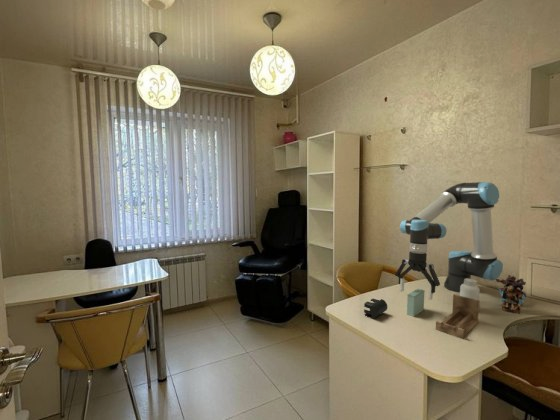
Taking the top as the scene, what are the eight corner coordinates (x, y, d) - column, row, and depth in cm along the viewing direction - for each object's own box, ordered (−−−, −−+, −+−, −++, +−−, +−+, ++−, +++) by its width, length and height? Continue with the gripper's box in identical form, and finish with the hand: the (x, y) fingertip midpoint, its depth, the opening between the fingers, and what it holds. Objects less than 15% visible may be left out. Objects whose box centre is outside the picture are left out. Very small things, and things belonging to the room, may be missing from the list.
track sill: (435, 329, 118) (436, 306, 118) (453, 314, 133) (454, 294, 132) (462, 338, 111) (463, 314, 110) (477, 322, 125) (479, 300, 125)
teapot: (493, 300, 150) (494, 287, 150) (498, 298, 154) (498, 285, 153) (522, 308, 141) (523, 294, 140) (526, 305, 144) (527, 291, 144)
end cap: (377, 321, 126) (378, 306, 125) (363, 316, 131) (363, 302, 130) (387, 314, 133) (387, 300, 132) (373, 309, 138) (374, 296, 137)
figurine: (499, 312, 135) (504, 276, 134) (492, 305, 144) (496, 271, 143) (526, 316, 132) (531, 279, 131) (517, 309, 141) (521, 274, 139)
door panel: (406, 314, 133) (407, 294, 132) (417, 307, 141) (418, 288, 140) (413, 316, 130) (414, 296, 130) (423, 309, 138) (424, 290, 138)
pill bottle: (481, 313, 134) (483, 283, 133) (463, 311, 136) (464, 281, 135) (473, 306, 142) (475, 278, 141) (456, 305, 144) (457, 276, 143)
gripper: (389, 248, 140) (387, 289, 141) (443, 257, 121) (440, 305, 123) (396, 246, 145) (394, 286, 146) (449, 255, 126) (446, 300, 128)
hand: (415, 295), depth 135 cm, fingers open, 13 cm apart
